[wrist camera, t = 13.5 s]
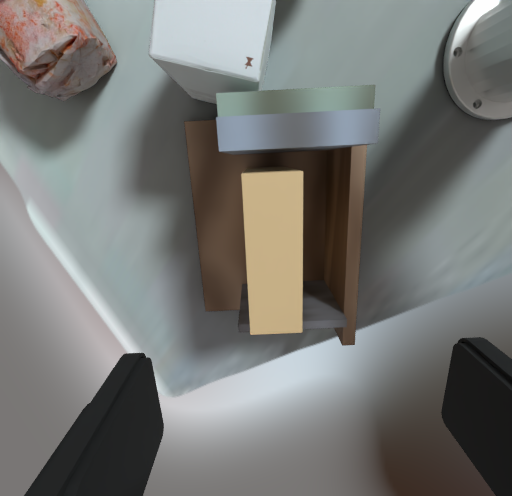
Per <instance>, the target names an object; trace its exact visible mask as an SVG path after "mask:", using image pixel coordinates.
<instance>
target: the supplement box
mask: <svg viewBox="0 0 512 496" xmlns="http://www.w3.org/2000/svg"><path fill="white" fill-rule="evenodd" d="M275 5H276V0H154V10H153V18H152V27H151V37H150V45H149V56H150V57H151V58H152V59H153V60H154V61H155V62H156V63H157V64H158V65H159V66H160V67H161V68H162V69H163V70H164V71H165V72H166V73H167V74H168V75H169V76H170V77H171V78H173V79H174V80H175V81H176V82H177V83H178V84H179V85H180V86H181V87H182V88H183V89H184V90H185V91H186V92H187V93H188V94H189V95H190V96H191V97H192V98H194V99H197V100H201V101H205V102H209V103H214V104H217V100H216V93H230V92H249V91H262V88H263V84H264V79H265V74H266V68H267V63H268V58H269V52H270V46H271V40H272V30H273V21H274V13H275Z"/></svg>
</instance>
